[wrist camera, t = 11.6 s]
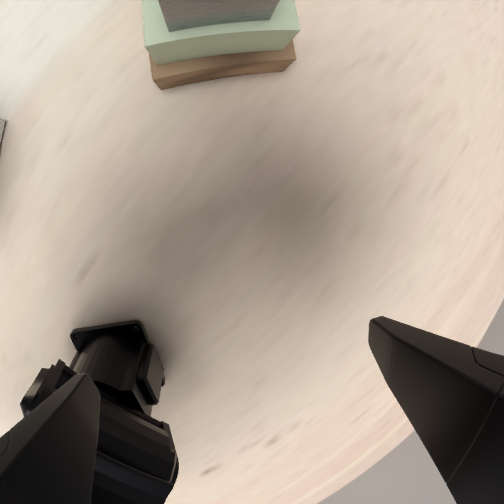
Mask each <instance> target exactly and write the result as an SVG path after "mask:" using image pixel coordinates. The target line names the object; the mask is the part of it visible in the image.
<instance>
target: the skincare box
mask: <svg viewBox="0 0 504 504" xmlns="http://www.w3.org/2000/svg"><path fill="white" fill-rule="evenodd" d="M4 125H5V121H4V120H1V119H0V143H1V138H2V133H3V129H4Z"/></svg>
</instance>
